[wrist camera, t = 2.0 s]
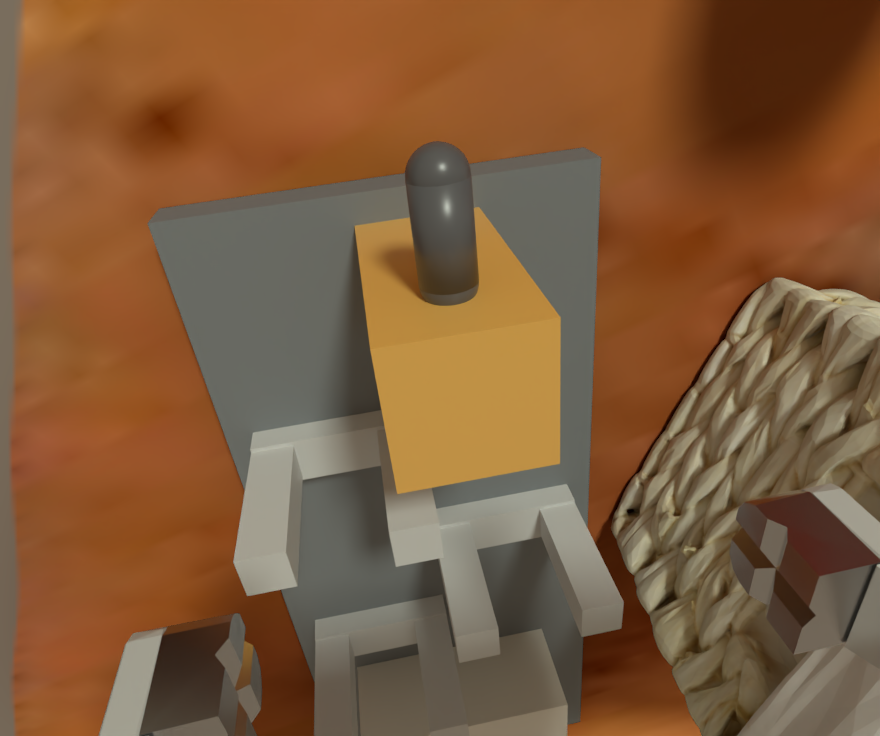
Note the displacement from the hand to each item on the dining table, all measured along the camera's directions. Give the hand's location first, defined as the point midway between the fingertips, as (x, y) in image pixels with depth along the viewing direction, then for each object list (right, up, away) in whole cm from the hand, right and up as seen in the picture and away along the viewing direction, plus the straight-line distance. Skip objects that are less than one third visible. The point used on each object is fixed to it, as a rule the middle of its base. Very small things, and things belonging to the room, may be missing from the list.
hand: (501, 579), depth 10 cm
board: (-1, -4, +19) cm, 19 cm away
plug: (-2, +8, +10) cm, 13 cm away
